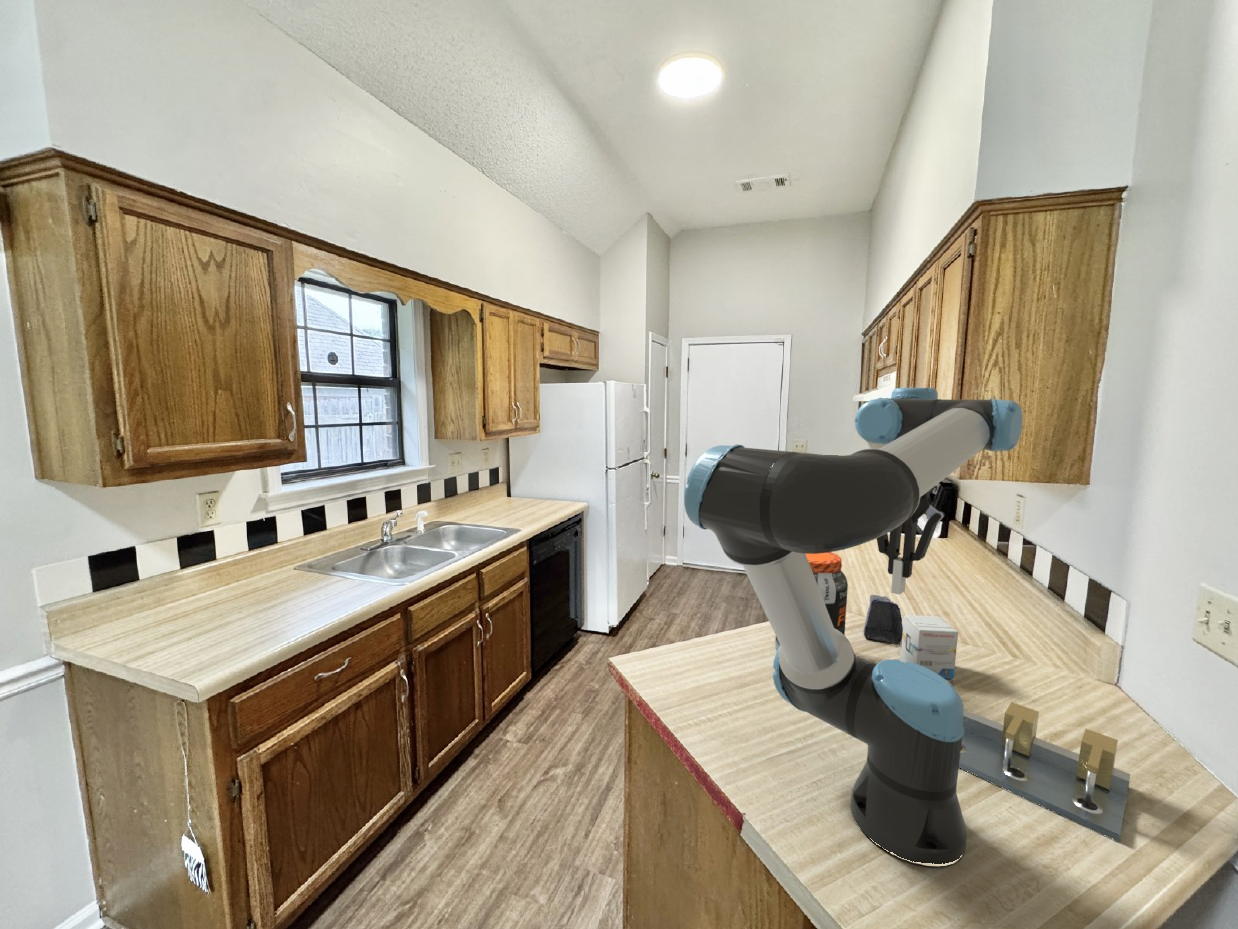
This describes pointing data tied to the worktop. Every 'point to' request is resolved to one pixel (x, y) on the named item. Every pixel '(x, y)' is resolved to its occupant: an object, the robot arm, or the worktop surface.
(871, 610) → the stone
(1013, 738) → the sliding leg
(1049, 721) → the worktop surface
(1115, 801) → the grey peg fixture
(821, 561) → the supplement tub
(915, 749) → the robot arm
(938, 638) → the ink box
